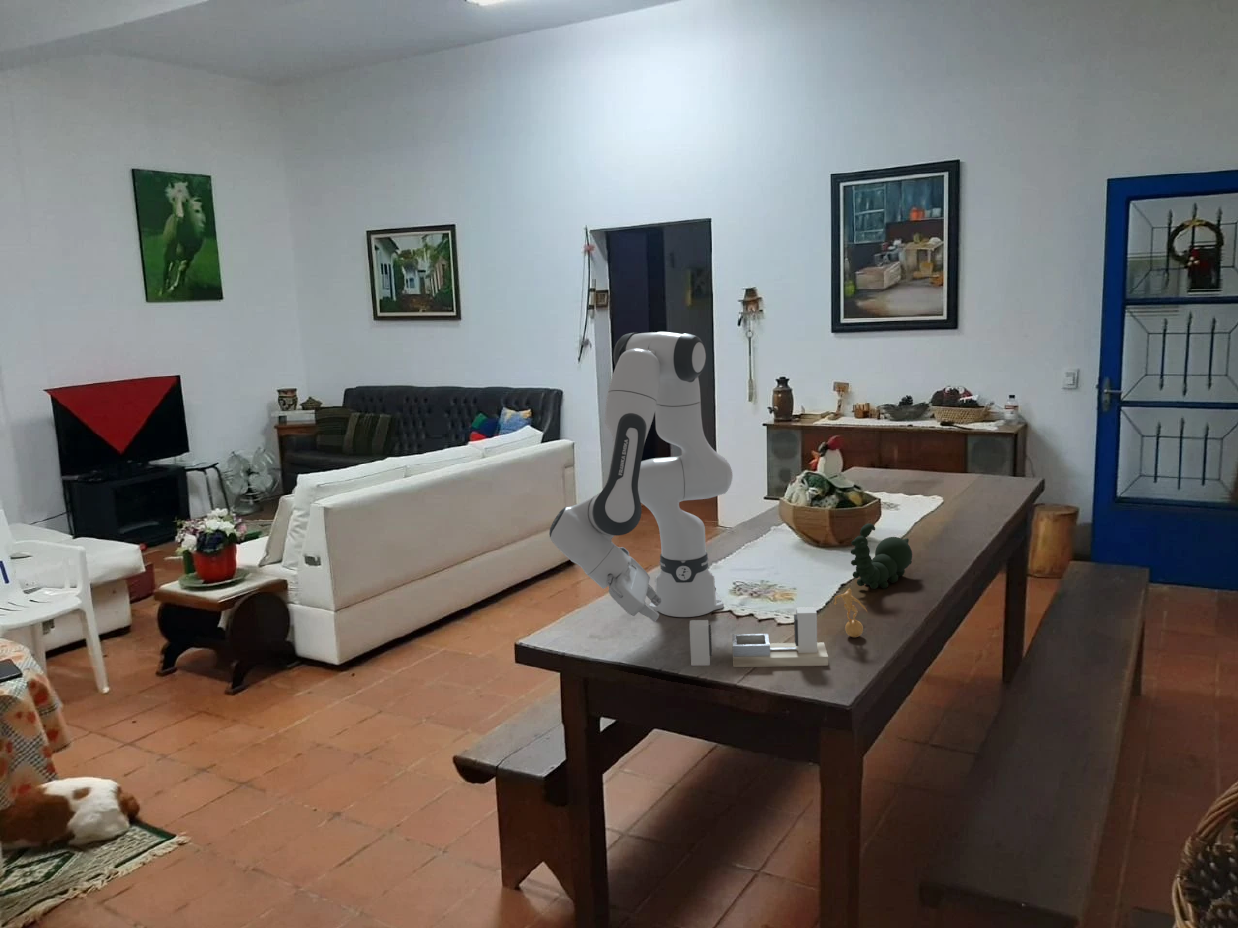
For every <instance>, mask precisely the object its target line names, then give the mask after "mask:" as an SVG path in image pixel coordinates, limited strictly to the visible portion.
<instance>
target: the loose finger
mask: <svg viewBox="0 0 1238 928" xmlns="http://www.w3.org/2000/svg"><path fill="white" fill-rule="evenodd" d="M689 645H690V662H691V663H690V664H691V666H711V657H712V656H713V650H712V649H713V647H712V625H711V624H709V619H697V620H696V619H695V620H694V619H692V620H691V619H690V620H689Z"/></svg>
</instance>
